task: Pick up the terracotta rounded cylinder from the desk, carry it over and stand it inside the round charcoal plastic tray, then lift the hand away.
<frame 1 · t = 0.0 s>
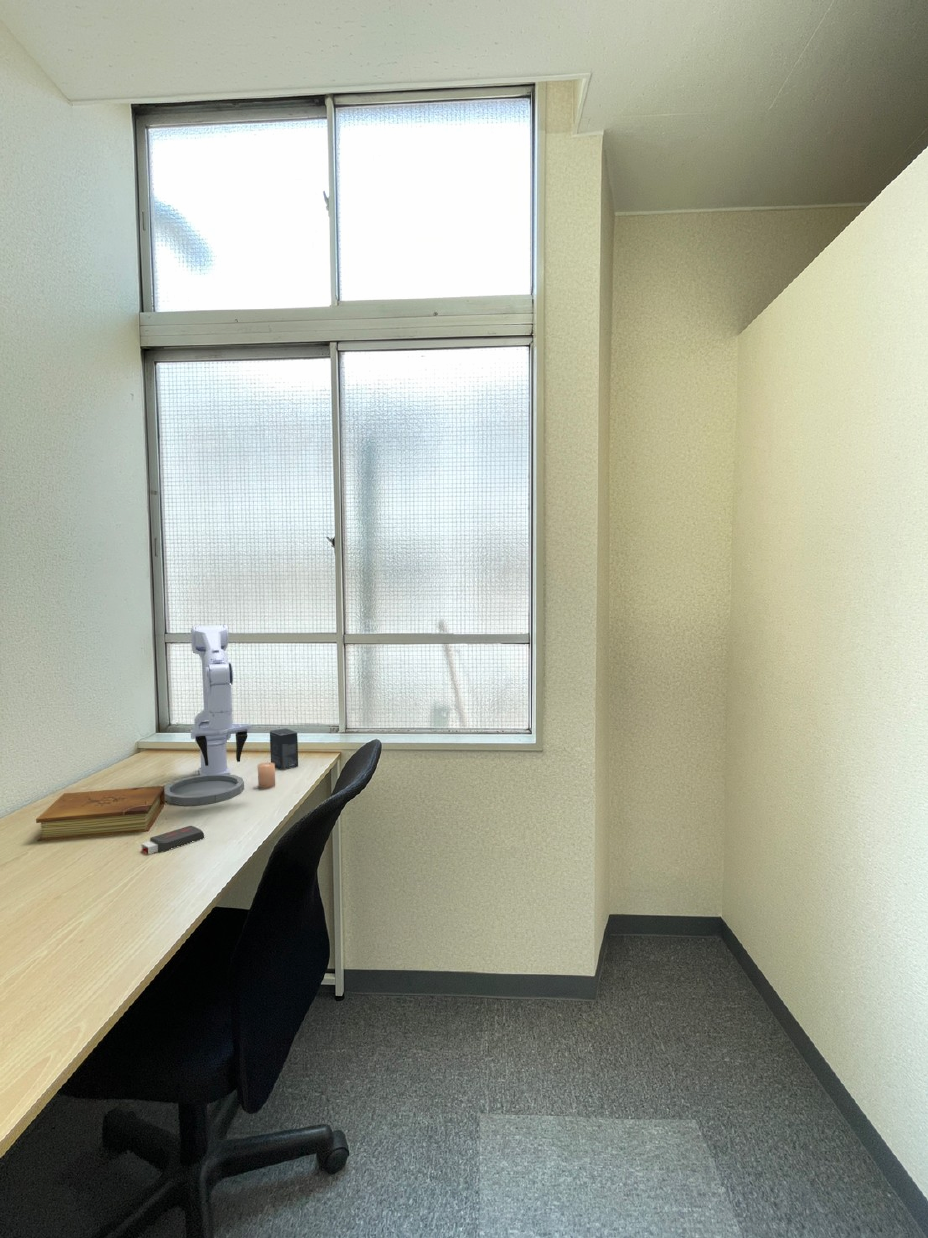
hand: (222, 762, 177), 10 cm above the table, tool pointing down, fingers open, 7 cm apart
usb drive: (172, 846, 150), on the table
terracotta rounded cylinder: (266, 786, 190), on the table
diary: (106, 824, 164), on the table
round tray: (204, 792, 185), on the table
box: (284, 766, 209), on the table
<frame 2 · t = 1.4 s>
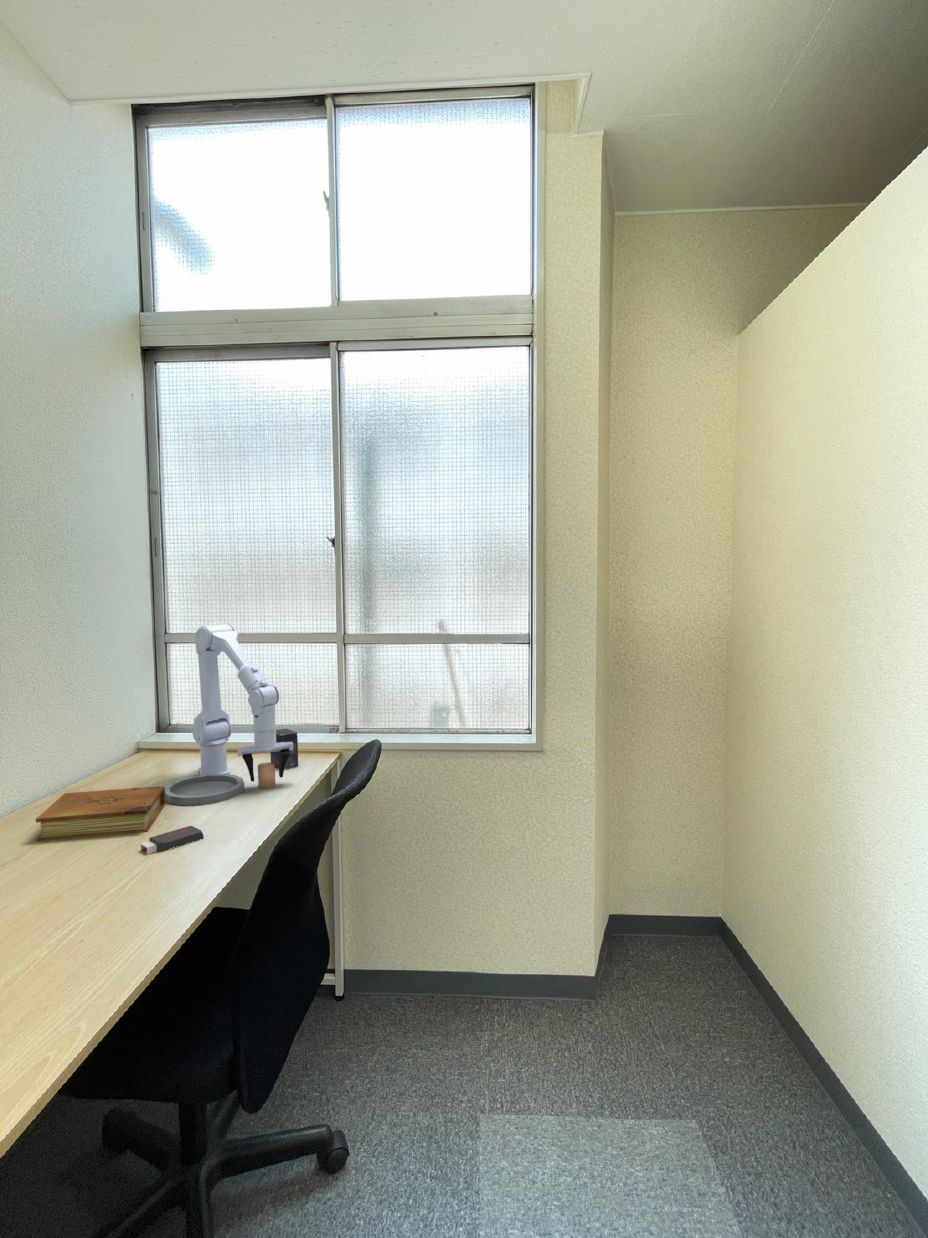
hand: (266, 778, 190), 2 cm above the table, tool pointing down, fingers open, 7 cm apart
nothing on the table moved.
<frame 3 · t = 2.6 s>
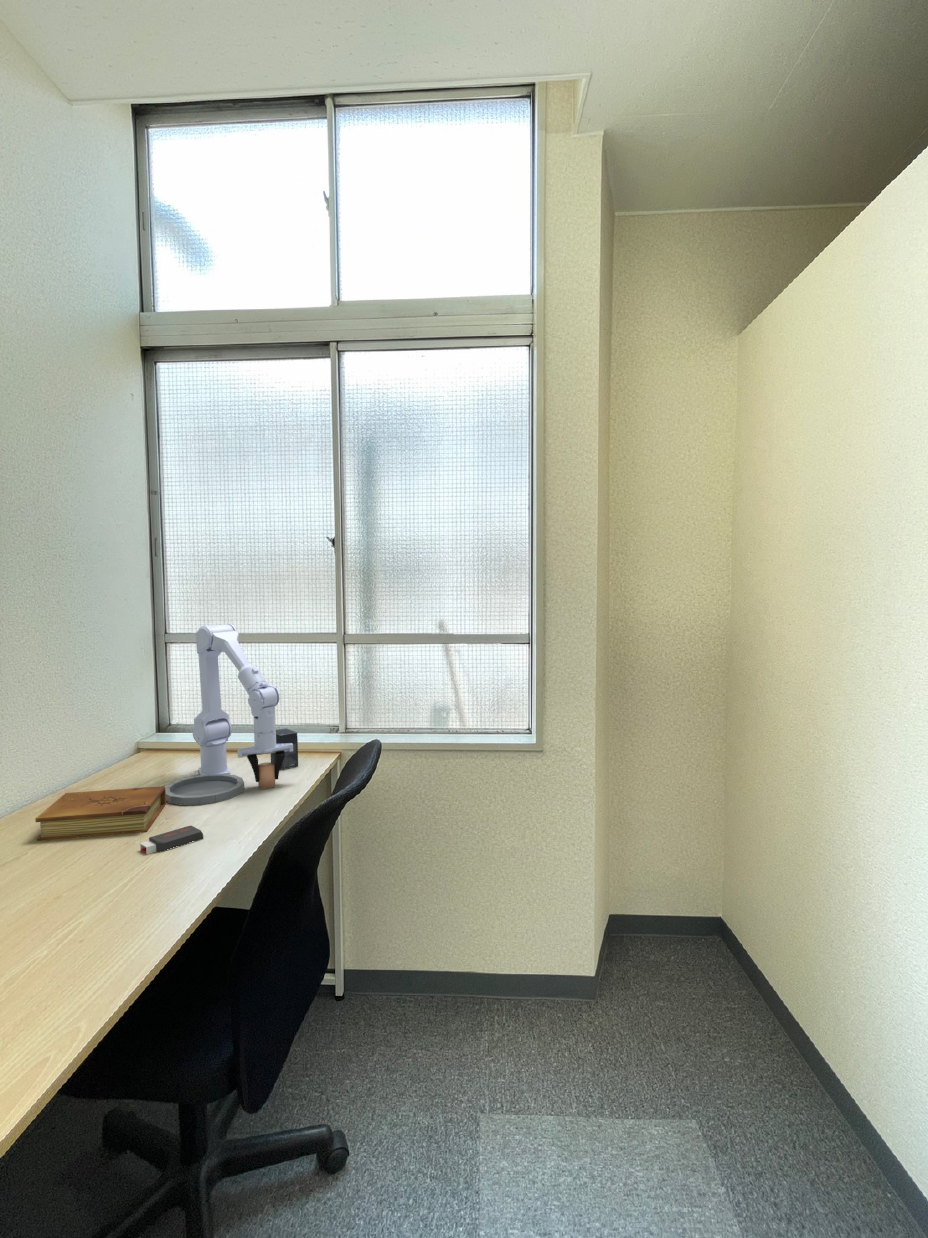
hand: (266, 779, 190), 2 cm above the table, tool pointing down, fingers closed on terracotta rounded cylinder, 4 cm apart
terracotta rounded cylinder: (267, 785, 190), on the table, touching gripper
everything else where it was.
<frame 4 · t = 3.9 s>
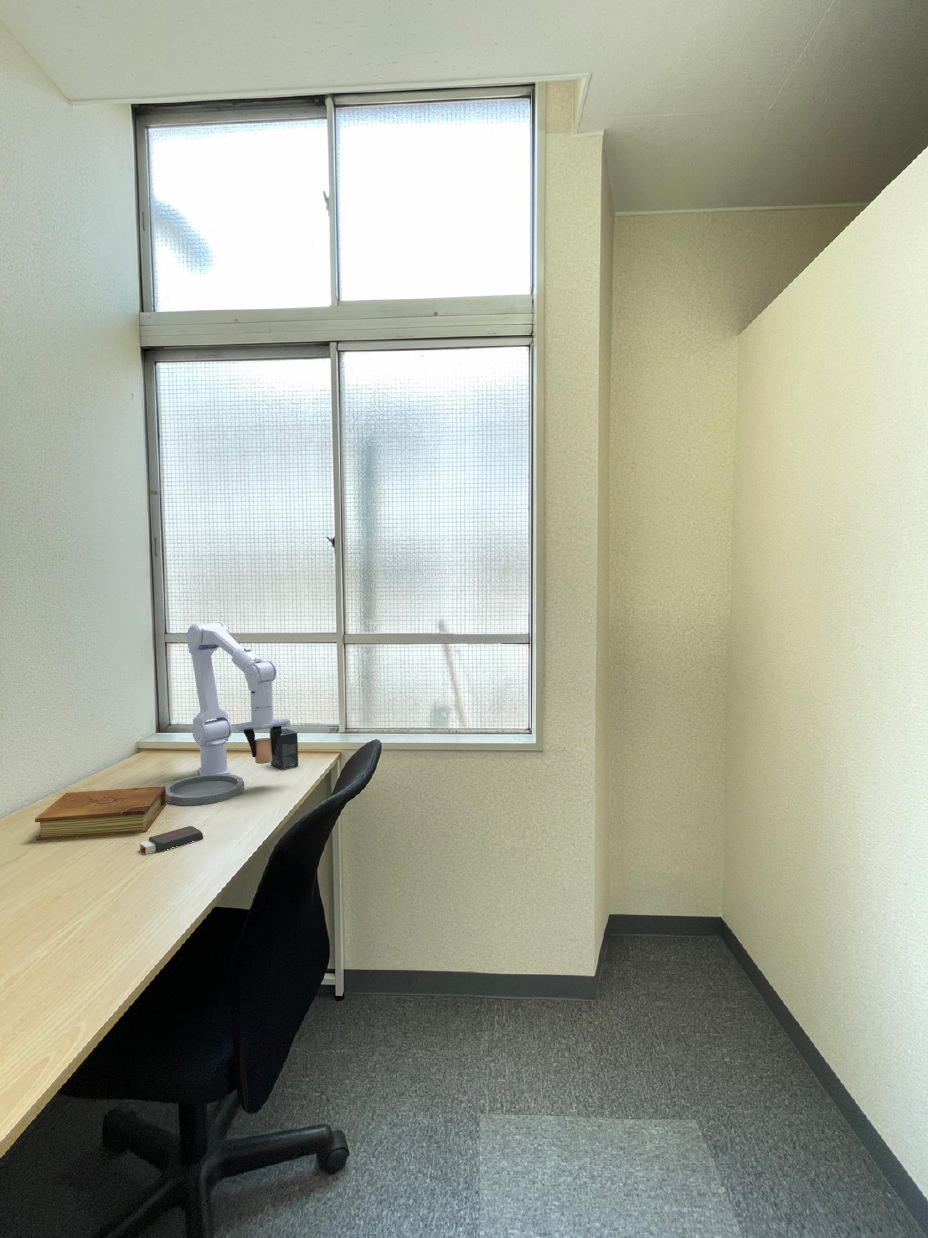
hand: (263, 755, 189), 9 cm above the table, tool pointing down, fingers closed on terracotta rounded cylinder, 4 cm apart
terracotta rounded cylinder: (263, 761, 189), point 7 cm above the table, touching gripper
everything else where it was.
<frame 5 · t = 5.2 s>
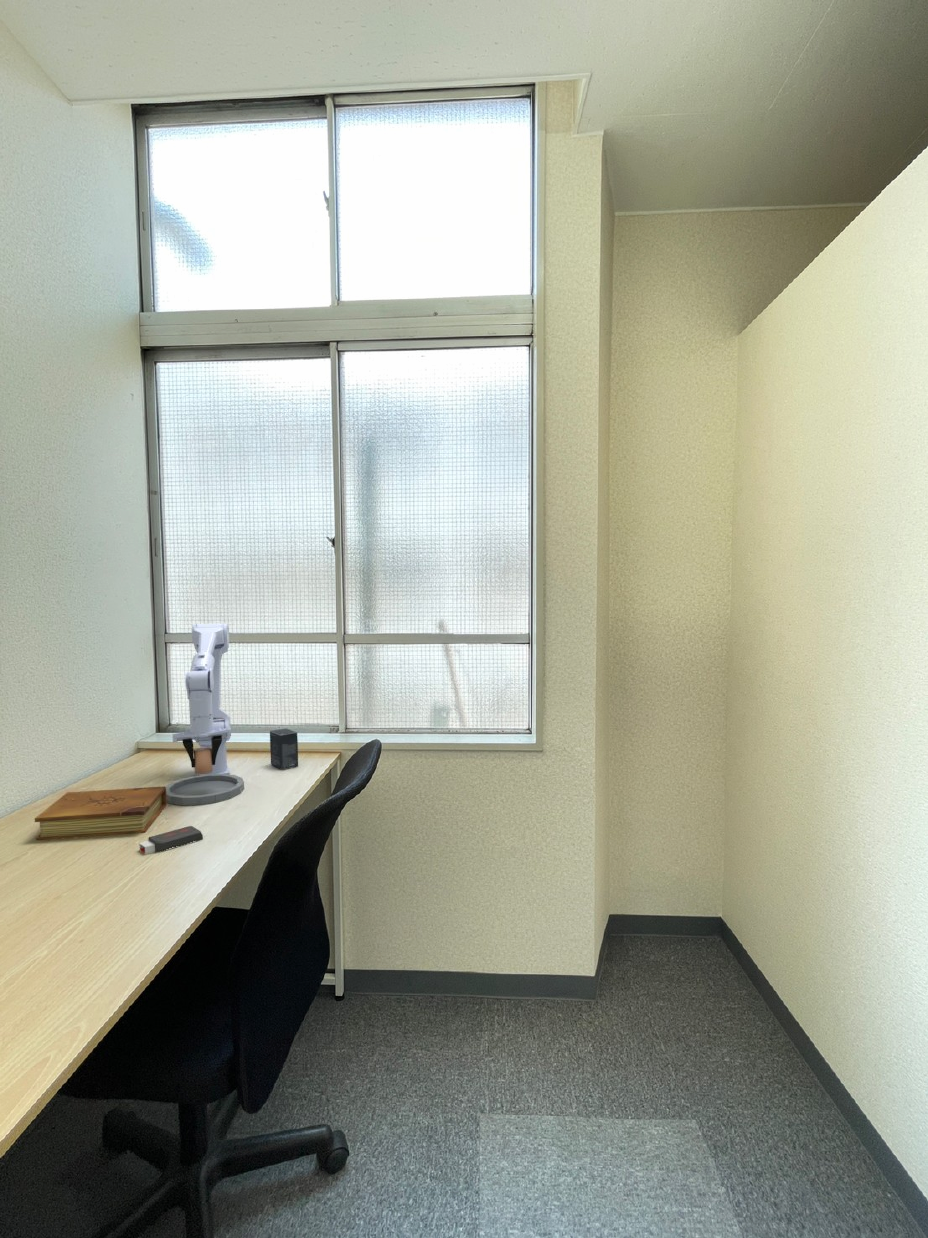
hand: (203, 765, 184), 7 cm above the table, tool pointing down, fingers closed on terracotta rounded cylinder, 4 cm apart
terracotta rounded cylinder: (203, 771, 184), point 6 cm above the table, touching gripper
everything else where it was.
when the fingers open (3 cm above the table, at t = 6.7 s): terracotta rounded cylinder stays where it is, resting on round tray.
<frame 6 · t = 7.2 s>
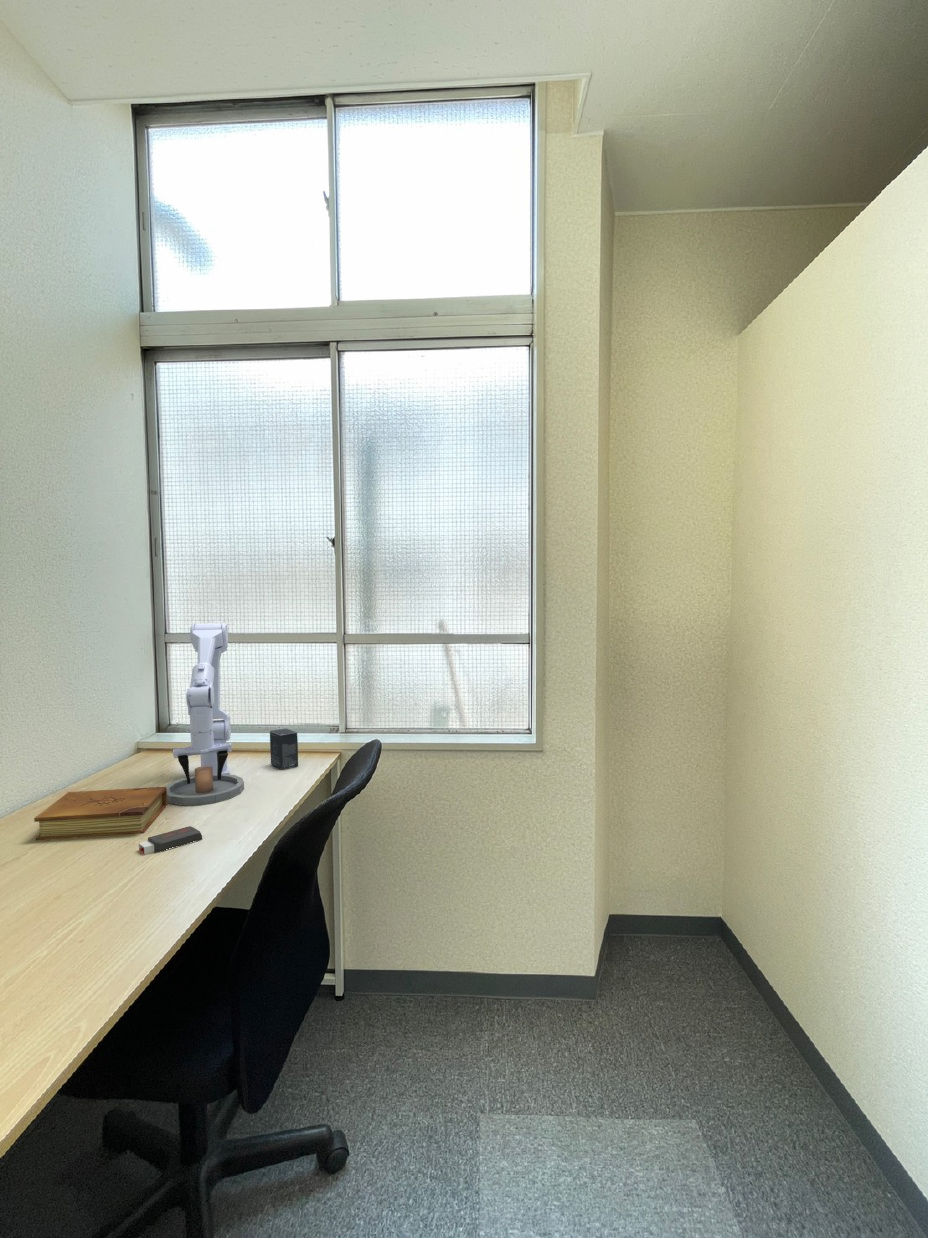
hand: (204, 780, 185), 3 cm above the table, tool pointing down, fingers open, 7 cm apart
terracotta rounded cylinder: (204, 790, 185), point 1 cm above the table, touching round tray
everything else where it was.
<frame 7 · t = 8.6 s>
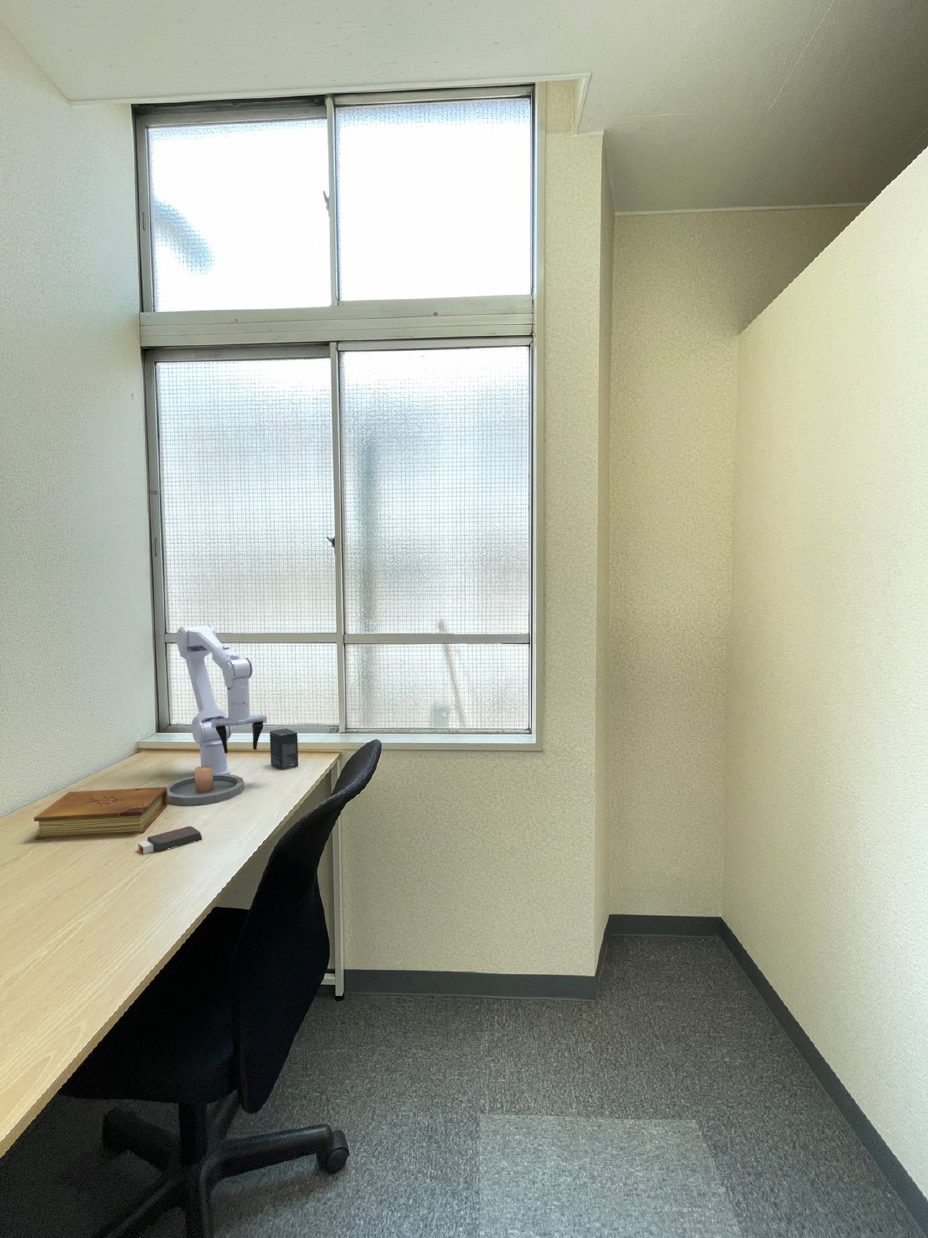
hand: (240, 750, 191), 9 cm above the table, tool pointing down, fingers open, 7 cm apart
nothing on the table moved.
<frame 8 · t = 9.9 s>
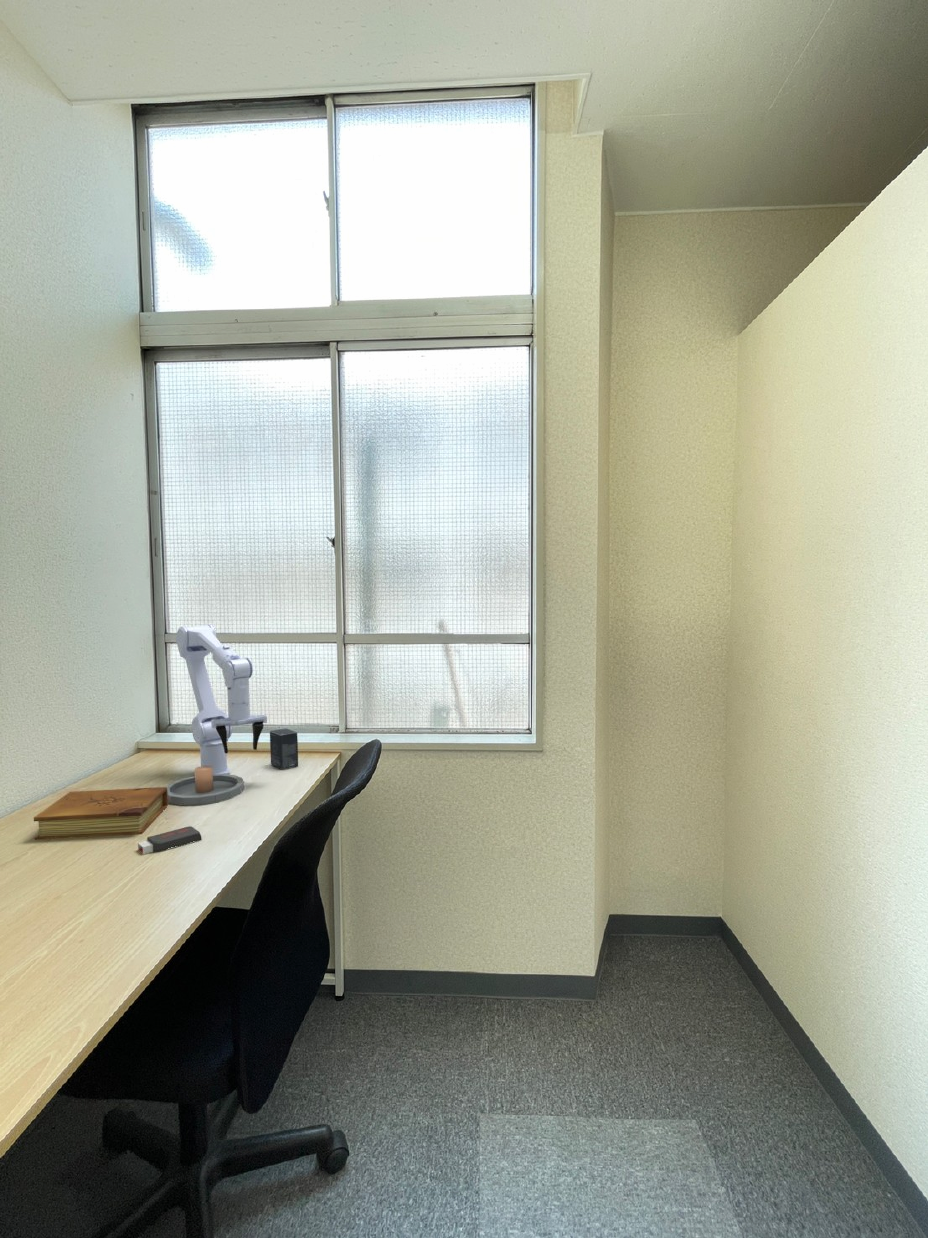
hand: (240, 750, 191), 9 cm above the table, tool pointing down, fingers open, 7 cm apart
nothing on the table moved.
at the end: terracotta rounded cylinder inside the target area on the round tray (0.1 cm from its centre), point 0.6 cm above the round tray's base; terracotta rounded cylinder tilted 0°; the gripper is holding nothing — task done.
